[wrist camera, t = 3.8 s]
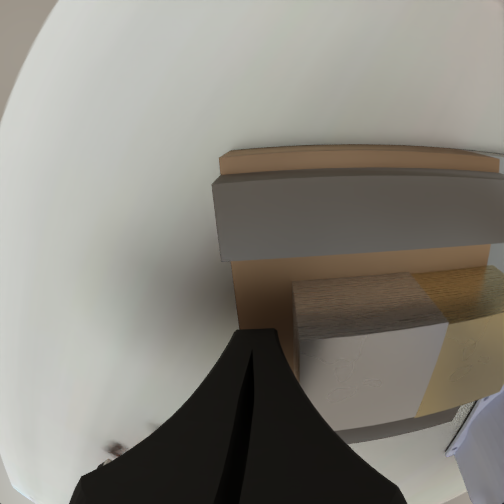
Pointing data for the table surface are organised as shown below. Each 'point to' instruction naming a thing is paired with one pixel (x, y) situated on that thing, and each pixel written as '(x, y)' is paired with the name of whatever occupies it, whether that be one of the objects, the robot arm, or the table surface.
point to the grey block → (365, 346)
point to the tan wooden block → (466, 336)
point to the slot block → (350, 227)
